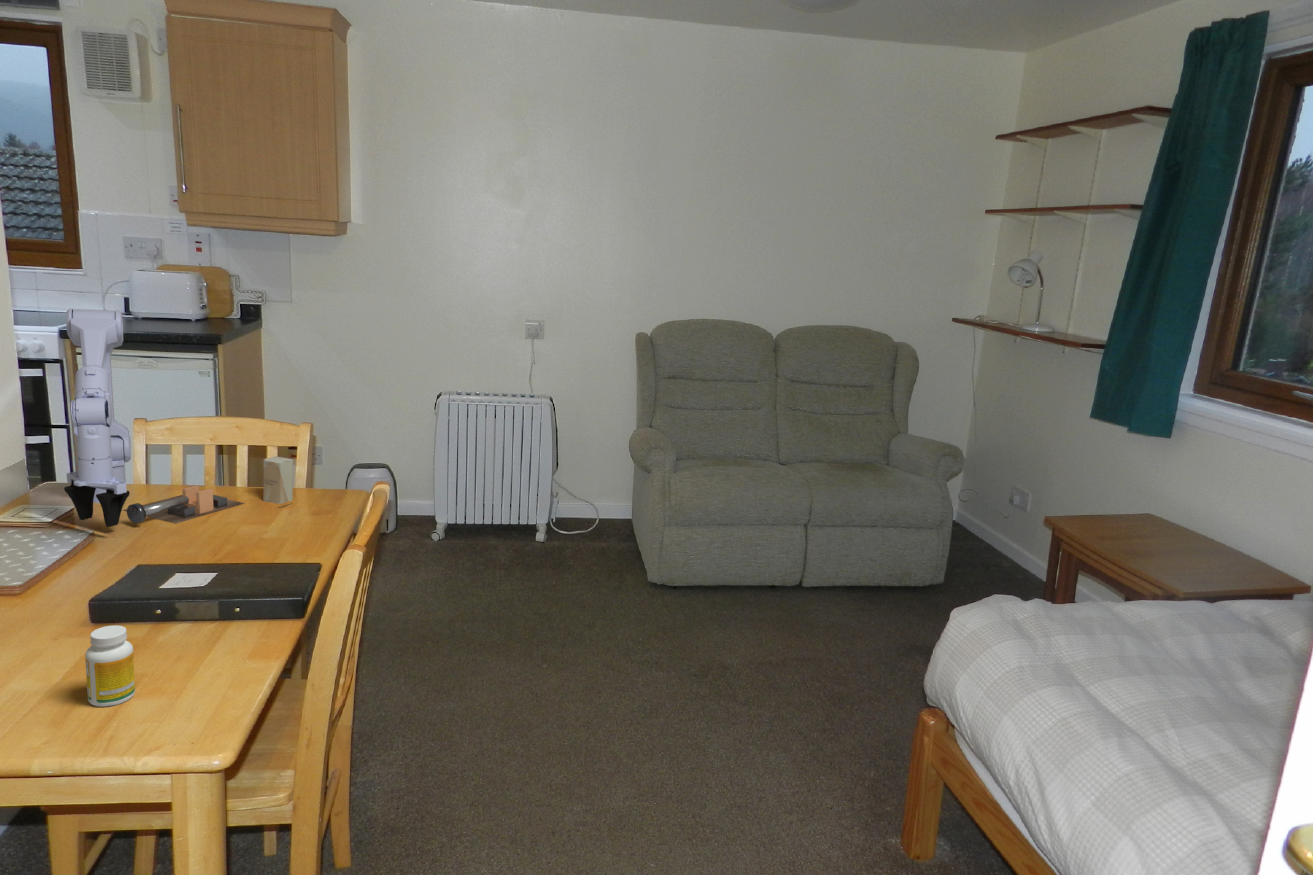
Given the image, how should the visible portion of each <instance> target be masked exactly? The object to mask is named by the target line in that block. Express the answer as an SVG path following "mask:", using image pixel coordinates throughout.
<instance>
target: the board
mask: <svg viewBox="0 0 1313 875" xmlns="http://www.w3.org/2000/svg"><path fill="white" fill-rule="evenodd" d="M180 497H183V494H181V495H176V496H173V497H168V498H165V499H161V500H157V501H153V502H149V503H145V504H141V505H142V506H143V507H145V506H149V505H153V504H157V503H160V502H164V501H168V500H172V499H176V498H180ZM244 504H246V503H245V502H241V501H237V500H232V499H229V498H227V506H225V507H222V508H214V507H213V510H211V511H208V512H204V513H201V514H199V513H195V515H194V516H190V517H187V518H182V517H178V516H174V515H170V514H168V509H167V510H163V511H160V512H156V513H152V514H149V515H146V518H151V519H154V520H159V521H163V522H165V523H166V522H168V523H171V524H174V525H175V524H179V523H180V524H181V523H183V522H187V521H190V520H192V519H193V520H194V519H197V518H199V517H203V516H207V515H210V514H213V513H217V512H221V511H223V510H227V509H231V508H234V507H239V506H242V505H244ZM123 511H124V512H126V513H127V508H126V509H122V511H121V512H123Z"/></svg>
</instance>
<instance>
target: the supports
mask: <svg viewBox="0 0 1313 875" xmlns="http://www.w3.org/2000/svg"><path fill="white" fill-rule="evenodd" d="M227 499H228V497H226V496H220V495H218V494H217V495H215V494H213V507H214V508H222V507H225V506H227ZM168 514H170V515H174V516H178V517H182V518H187V517H190V516H194V515H195V507H193V506H189V505H182V506H178V507H174V508H171V509H168Z"/></svg>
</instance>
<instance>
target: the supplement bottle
mask: <svg viewBox="0 0 1313 875" xmlns="http://www.w3.org/2000/svg"><path fill="white" fill-rule="evenodd" d="M127 633H128V632H127V628H126V627H125V626H123V625H116V624H115V625H105V626H102V627H100V628H96V629H94V630H93V631H92V632H90V645H91V646H90V647H89V648H87V649H86V651H85V656H84V657H85V658H84V660H85V673H86V674H85V675H86V690H87V693H86V694H87V701H88V702H89V704H90V705H92V706H93V707H102V708H103V707H104V708H105V707H112V706H118V705H121V704H123V703H126V702H127V701H129V700H130V699H131V698H132V697H133V696H134V695H135V693H136V681H135V661H134V659H135V658H134V657H135V656H134V647H133V645H132V643H131V642H130V641H128V640H127V638H128V635H127Z"/></svg>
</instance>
